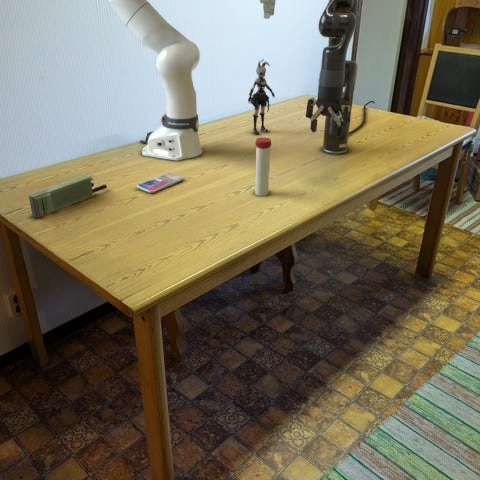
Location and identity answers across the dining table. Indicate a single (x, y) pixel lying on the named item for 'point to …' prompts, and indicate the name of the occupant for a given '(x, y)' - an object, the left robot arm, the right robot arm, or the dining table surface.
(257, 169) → the white bottle
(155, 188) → the smartphone
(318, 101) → the right robot arm
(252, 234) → the dining table surface
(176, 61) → the left robot arm
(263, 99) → the figurine
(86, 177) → the handheld radio
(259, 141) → the lid
